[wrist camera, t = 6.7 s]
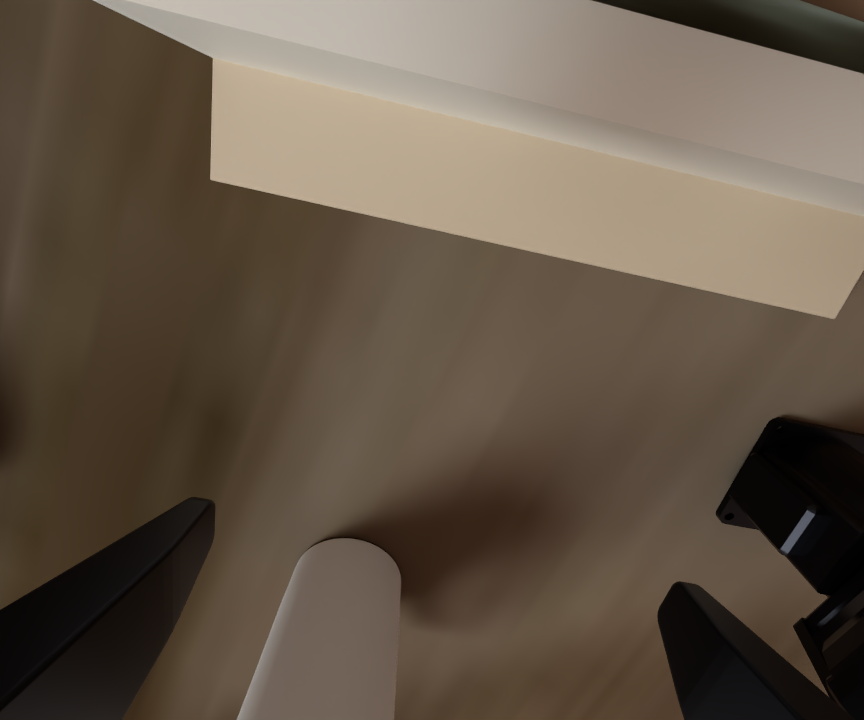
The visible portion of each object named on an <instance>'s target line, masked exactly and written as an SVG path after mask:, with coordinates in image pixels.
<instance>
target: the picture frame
mask: <svg viewBox="0 0 864 720" xmlns="http://www.w3.org/2000/svg"><path fill="white" fill-rule="evenodd" d="M592 1H595V2H599V3H603V4H606V5H610V6H614V7H618V8H621V9H625V10H629V11H632V12H636V13H640V14H644V15H647V16H651V17H655V18H658V19H662V20H666V21H670V22H673V23H677V24H681V25H684V26H688V27H692V28H696V29H699V30H703V31H707V32H710V33H714V34H718V35H722V36H725V37H729V38H733V39H736V40H740V41H744V42H747V43H751V44H755V45H759V46H762V47H766V48H770V49H773V50H777V51H781V52H785V53H788V54H792V55H796V56H799V57H803V58H807V59H811V60H814V61H818V62H822V63H825V64H829V65H833V66H837V67H840V68H844V69H848V70H851V71H855V72H859V73H863V74H864V0H592Z"/></svg>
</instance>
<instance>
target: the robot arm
mask: <svg viewBox="0 0 864 720" xmlns="http://www.w3.org/2000/svg"><path fill="white" fill-rule="evenodd" d="M780 426H781V428H780V429H778V430H777V428H778V427H780ZM728 513H729V514H728ZM726 514H727V515H726ZM716 516H717V517H718V518H719V520H720V521H721V522H722V523H725V524H729V525H735V526H740V527H746V528H751V529H757V530H760V531H761V533H762V534H763V535H764V536H765V537H766V538H767V539H768V540H769V542H770V543H771V544H772V545H773V546H774V547H775V548H776V549H777V551H778V552H779V553H780V554H782V555H785V556H786V558H787V559H788V560H789V561H790V562H791V563H792V564H793V565H794V567H795V568H796V569H797V570H798V571H799V572H800V573H801V574H802V575H803V577H804V578H805V579H806V580H807V581H808V582H809V583H810V584H811V586H812V587H813V588H814V589H815V590H816V591H817V592H818V593H820V594H824V595H826V596H827V597H828V598H827V599H826V600H825V601H824V602H823V603H822V604H820V605H819V606H818V607H817V608H816V609H815V610H814V611H813V612H812V613H810V614H809V615H808V616H807V617H806V618H801V619H800V620H799V621H798V622H796V623H795V624H794V625H793V627H794V629H795V631H796V633H797V635H798V637H799V639H800V641H801V643H802V645H803V647H804V649H805V651H806V653H807V655H808V657H809V659H810V660H811V662H812V664H813V666H814V668H815V670H816V672H817V674H818V676H819V678H820V680H821V682H822V684H823V686H824V688H825V690H826V691H827V693H828V695H829V697H830V698H829V697H828V696H827V695H826V694H825V693H824V692H822V691H821V690H820V689H819V688H818V687H817V686H815V685H814V684H813V683H812V682H811V681H810V680H808V679H807V678H806V677H805V676H804V675H803V674H801V673H800V672H799V671H798V670H797V669H796V668H794V667H793V666H792V665H791V664H790V663H789V662H787V661H786V660H785V659H784V658H783V657H782V656H781V655H779V654H778V653H777V652H776V651H775V650H774V649H772V648H771V647H770V646H769V645H768V644H767V643H765V642H764V641H763V640H762V639H761V638H760V637H758V636H757V635H756V634H755V633H754V632H753V631H751V630H750V629H749V628H748V627H747V626H746V625H745V624H743V623H742V622H741V621H740V620H739V619H738V618H736V617H735V616H734V615H733V614H732V613H731V612H729V611H728V610H727V609H726V608H725V607H724V606H722V605H721V604H720V603H719V602H718V601H717V600H715V599H714V598H713V597H712V596H711V595H710V594H709V593H707V592H706V591H705V590H704V589H703V588H701V587H700V586H698V585H696V584H692V583H686V582H676V583H674V584H673V585H672V587H671V588H670V590H669V592H668V593H667V595H666V597H665V599H664V600H663V602H662V604H661V605H660V607H659V610H658V624H659V628H660V632H661V636H662V639H663V643H664V647H665V651H666V655H667V659H668V663H669V667H670V670H671V674H672V678H673V682H674V686H675V690H676V694H677V697H678V701H679V704H680V708H681V711H682V714H683V717H684V720H864V434H860V433H855V432H850V431H845V430H840V429H835V428H830V427H826V426H821V425H816V424H811V423H806V422H801V421H796V420H791V419H786V418H780V417H777V418H774V419H772V420H771V421H769V422H768V424H767V425H766V427H765V428H764V430H763V432H762V434H761V435H760V437H759V439H758V440H757V442H756V444H755V446H754V447H753V449H752V451H751V452H750V454H749V456H748V457H747V459H746V461H745V463H744V464H743V466H742V468H741V469H740V471H739V473H738V475H737V476H736V478H735V480H734V481H733V483H732V485H731V486H730V488H729V490H728V492H727V493H726V495H725V497H724V498H723V500H722V502H721V504H720V505H719V507H718V509H717V511H716ZM214 532H215V503H214V501H212V500H209V499H203V498H198V497H191V498H188V499H186V500H185V501H183V502H181V503H180V504H178V505H176V506H175V507H173V508H171V509H170V510H168V511H166V512H164V513H163V514H161V515H159V516H158V517H156V518H154V519H153V520H151V521H149V522H148V523H146V524H144V525H143V526H141V527H139V528H138V529H136V530H134V531H132V532H131V533H129V534H127V535H126V536H124V537H122V538H121V539H119V540H117V541H116V542H114V543H112V544H111V545H109V546H107V547H106V548H104V549H102V550H100V551H99V552H97V553H95V554H94V555H92V556H90V557H89V558H87V559H85V560H84V561H82V562H80V563H79V564H77V565H75V566H74V567H72V568H70V569H68V570H67V571H65V572H63V573H62V574H60V575H58V576H57V577H55V578H53V579H52V580H50V581H48V582H47V583H45V584H43V585H42V586H40V587H38V588H36V589H35V590H33V591H31V592H30V593H28V594H26V595H25V596H23V597H21V598H20V599H18V600H16V601H15V602H13V603H11V604H10V605H8V606H6V607H4V608H3V609H1V610H0V720H122V719H123V717H124V716H125V714H126V712H127V710H128V709H129V707H130V705H131V704H132V702H133V700H134V698H135V697H136V695H137V693H138V691H139V690H140V688H141V686H142V684H143V683H144V681H145V679H146V677H147V676H148V674H149V672H150V671H151V669H152V667H153V665H154V664H155V662H156V660H157V658H158V657H159V655H160V653H161V651H162V650H163V648H164V646H165V644H166V643H167V641H168V639H169V637H170V635H171V633H172V632H173V630H174V628H175V625H176V623H177V621H178V619H179V617H180V615H181V612H182V610H183V608H184V606H185V604H186V601H187V599H188V597H189V595H190V592H191V590H192V588H193V586H194V584H195V581H196V579H197V577H198V575H199V572H200V570H201V568H202V566H203V564H204V561H205V559H206V557H207V555H208V552H209V550H210V548H211V545H212V542H213V539H214Z"/></svg>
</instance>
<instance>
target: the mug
mask: <svg viewBox="0 0 864 720" xmlns="http://www.w3.org/2000/svg"><path fill="white" fill-rule="evenodd" d="M400 596H401V575H400V571H399V569H398V566H397V565H396V563H395V561H394V560H393V559H392V558H391V557H390V556H389V555H388V554H387V553H386V552H385V551H384V550H382V549H381V548H379V547H377V546H375V545H373V544H371V543H369V542H366V541H362V540H358V539H351V538H338V539H331V540H327V541H323V542H321V543H318V544H316V545H314V546H313V547H311V548H310V549H308V550H307V551H306V552H305V553H304V554H303V555H302V556H301V558H300V559H299V561H298V563H297V565H296V567H295V570H294V572H293V575H292V577H291V580H290V583H289V585H288V588H287V590H286V592H285V595H284V597H283V600H282V602H281V605H280V607H279V610H278V613H277V615H276V618H275V621H274V623H273V626H272V629H271V631H270V634H269V637H268V639H267V642H266V645H265V647H264V650H263V652H262V655H261V658H260V660H259V663H258V666H257V668H256V671H255V674H254V676H253V679H252V681H251V684H250V687H249V689H248V692H247V695H246V697H245V700H244V702H243V705H242V708H241V710H240V713H239V715H238V718H237V720H394V708H395V690H396V673H397V656H398V639H399V620H400Z"/></svg>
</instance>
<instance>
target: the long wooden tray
mask: <svg viewBox="0 0 864 720" xmlns="http://www.w3.org/2000/svg"><path fill="white" fill-rule="evenodd" d="M93 1H95V2H97V3H100V4H102V5H104V6H106V7H108V8H110V9H112V10H114V11H116V12H118V13H120V14H122V15H125V16H127V17H129V18H131V19H133V20H135V21H137V22H139V23H141V24H143V25H145V26H147V27H150V28H152V29H154V30H156V31H158V32H160V33H162V34H164V35H166V36H168V37H170V38H172V39H174V40H177V41H179V42H181V43H183V44H185V45H187V46H189V47H191V48H193V49H195V50H197V51H199V52H202V53H204V54H206V55H208V56H210V57H212V58H213V82H212V129H211V175H210V180H214V181H218V182H223V183H227V184H232V185H236V186H241V187H245V188H250V189H254V190H259V191H263V192H268V193H272V194H277V195H281V196H286V197H290V198H295V199H299V200H304V201H308V202H312V203H317V204H321V205H326V206H330V207H335V208H339V209H344V210H348V211H353V212H357V213H362V214H366V215H371V216H375V217H380V218H384V219H389V220H393V221H398V222H402V223H406V224H411V225H415V226H420V227H424V228H429V229H433V230H438V231H442V232H447V233H451V234H456V235H460V236H465V237H469V238H474V239H478V240H483V241H487V242H492V243H496V244H500V245H505V246H509V247H514V248H518V249H523V250H527V251H532V252H536V253H541V254H545V255H550V256H554V257H559V258H563V259H568V260H572V261H577V262H581V263H586V264H590V265H594V266H599V267H603V268H608V269H612V270H617V271H621V272H626V273H630V274H635V275H639V276H644V277H648V278H653V279H657V280H662V281H666V282H671V283H675V284H680V285H684V286H688V287H693V288H697V289H702V290H706V291H711V292H715V293H720V294H724V295H729V296H733V297H738V298H742V299H747V300H751V301H756V302H760V303H765V304H769V305H774V306H778V307H782V308H787V309H791V310H796V311H800V312H805V313H809V314H814V315H818V316H823V317H827V318H832V319H835V318H836V316H837V314H838V312H839V311H840V309H841V307H842V306H843V304H844V302H845V301H846V299H847V297H848V296H849V294H850V292H851V290H852V289H853V287H854V285H855V284H856V282H857V280H858V279H859V277H860V275H861V274H862V272H863V270H864V74H863V73H859V72H855V71H851V70H848V69H844V68H840V67H837V66H833V65H829V64H825V63H822V62H818V61H814V60H811V59H807V58H803V57H799V56H796V55H792V54H788V53H785V52H781V51H777V50H773V49H770V48H766V47H762V46H759V45H755V44H751V43H747V42H744V41H740V40H736V39H733V38H729V37H725V36H722V35H718V34H714V33H710V32H707V31H703V30H699V29H696V28H692V27H688V26H684V25H681V24H677V23H673V22H670V21H666V20H662V19H658V18H655V17H651V16H647V15H644V14H640V13H636V12H632V11H629V10H625V9H621V8H618V7H614V6H610V5H606V4H603V3H599V2H595V1H592V0H93Z"/></svg>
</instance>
